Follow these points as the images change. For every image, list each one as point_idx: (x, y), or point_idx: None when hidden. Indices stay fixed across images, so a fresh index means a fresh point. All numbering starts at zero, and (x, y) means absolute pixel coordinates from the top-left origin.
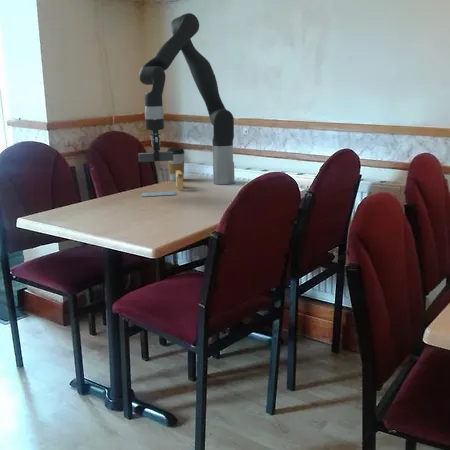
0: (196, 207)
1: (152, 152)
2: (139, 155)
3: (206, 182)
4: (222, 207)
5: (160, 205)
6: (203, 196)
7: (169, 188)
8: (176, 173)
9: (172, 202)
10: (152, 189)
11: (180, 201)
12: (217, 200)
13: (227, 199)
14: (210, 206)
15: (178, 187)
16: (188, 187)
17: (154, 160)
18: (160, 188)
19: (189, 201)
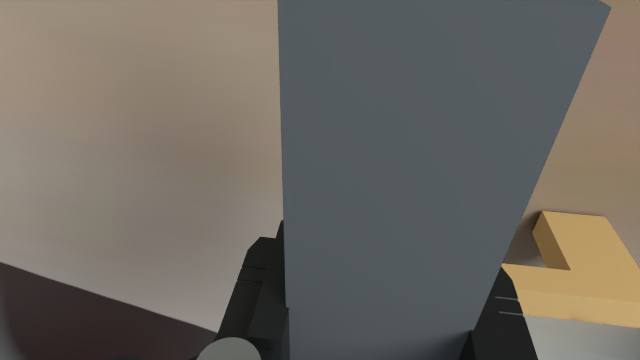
0: (3, 189)
1: (476, 320)
2: (284, 5)
3: (605, 350)
4: (19, 266)
5: (24, 26)
6: None
7: (570, 167)
8: (588, 286)
9: (112, 109)
10: (624, 47)
11: (138, 152)
12: (151, 284)
13: (167, 313)
14: (32, 238)
15: None
16: (524, 261)
17: (283, 220)
18: (618, 112)
19: (136, 190)
